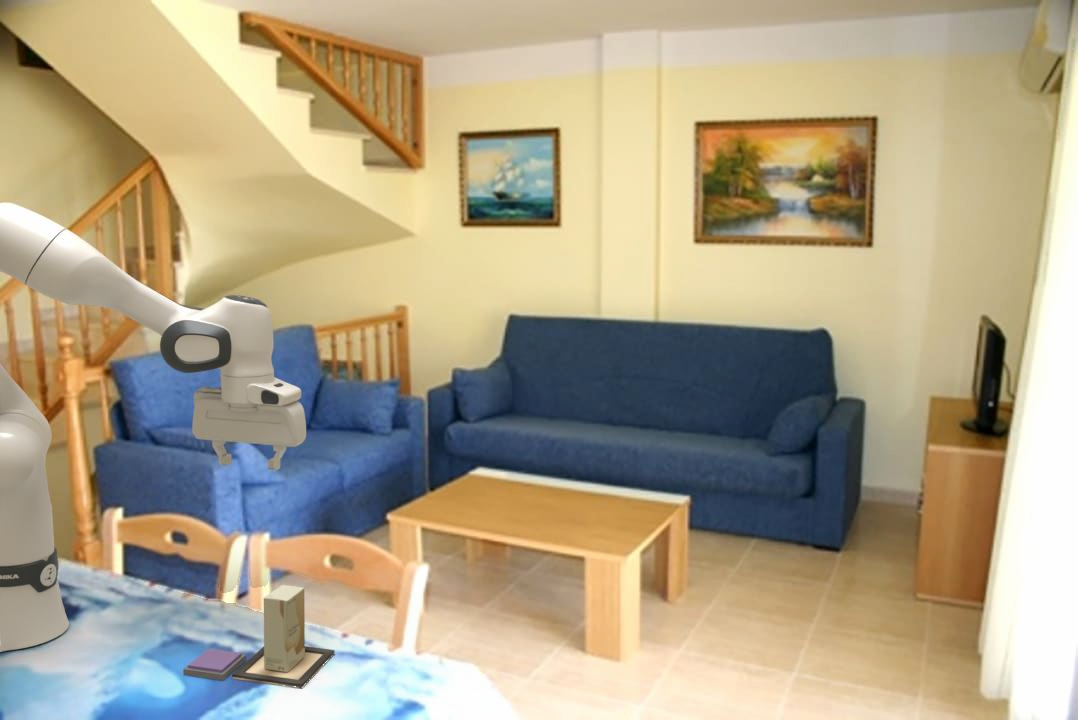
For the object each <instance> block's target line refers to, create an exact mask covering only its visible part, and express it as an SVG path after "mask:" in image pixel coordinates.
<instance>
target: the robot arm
mask: <svg viewBox="0 0 1078 720" xmlns="http://www.w3.org/2000/svg"><path fill="white" fill-rule="evenodd" d="M0 273H4V274H6V275H8V276H9V277H11V278H13V279H15V280H16V281H18V282H20V283H21V284H23V285H25V286H27V287H29V288H30V289H32V290H34V291H35V292H37V293H39V294H41V295H43V296H45V297H48V298H50V299H53V300H55V301H58V302H60V303H64V304H66V305H71V306H91V307H92V306H93V307H101V308H106V309H109V310H113V311H115V312H118V313H120V314H122V315H124V316H125V317H128V318H129V319H131V320H133V321H135V322H137V323H139V324H140V325H142V326H144V327H145V328H148V329H149V330H151V331H153V332H155V333H157V334H158V335H159V336H161V338H160V341H159V350H160V353H161V357H162V358H163V360H164V362H165V363H166V364H167V365H168V366H169V367H170V368H171V369H173V370H175V371H178V372H180V373H183V374H184V373H185V374H198V373H202V372H207V371H211V370H216V369H219V370H220V386H219V387H218V386H217V387H214V386H213V387H211V386H205V385H204V386H201V387H200V388H198V389H197V390H196V391H195V392H194V394H193V406H194V408H193V415H192V435H194V437H195V439H198V440H204V441H205V440H206V441H212V442H211V443H212V445H211V446H212V448H213V450H214V451H215V454H217V456H218V465H219V466H230V465H232V461H233V460H232V454H231V453H228V451H227V449H226V447H225V446H224V445H225V444H227V442H228V443H229V442H230V443H241V444H252V445H253V444H255V445H265V446H273V447H272V449H273V452H275V454H274V456H273V457H272V458H271V457H270V459H268V460H267V465H268V466H267V468H268V470H272V471H278V470H280V469H281V459H282V458H283V456H284V455H285V453H286V451H287V447H290V448H295V447H297V446H299V445H301V444H303V443H304V442H305V440H306V438H307V423H306V413H305V408H304V406H303V405H302V403H301V402H300V401H298V400H300V399H301V398H302V390H301V388H300V387H299V386H296V385H293V384H291V383H289V382H286V381H284V380H282V379H279V378H277V377H275V370H274V366H273V363H272V362H273V361H272V355H273V351H274V327H273V319H272V314H271V310H270V308H269V307H268V305H267V304H266V303H265V302H263V301H262V300H260V299H258V298H254V297H250V296H244V295H235V294H232V295H231V294H229V295H226V296H224V297H223V298H222V299H220V300H219V301H217V302H215V303H214V304H211V305H210V306H208V307H205V308H204V307H203V308H202V307H198V306H197V307H195V306H189V305H184V304H182V303H178V302H177V301H175V300H172V299H171V298H170V297H168V296H166V295H164V294H162V293H161V292H158V291H157V290H155V289H153V288H152V287H149V285H146V284H144V283H143V282H141V281H140V280H137V278H135V277H132V276H131V275H129V274H128V273H127V272H125V271H124V270H123V269H122V268H120V267H119V266H118V265H116V264H115V263H114V262H113V261H112V260H111V259H109V258H107V256H105V255H104V254H103V253H101V252H100V251H99V250H98V249H96V248H95V247H94V246H92V245H91V244H90V243H88V242H87V241H85V240H84V239H83V238H82V237H80V236H79V235H77V234H76V233H74V232H73V231H71V230H69V229H67V228H66V227H65V226H62V225H60V224H59V223H57V222H55V221H54V220H52V219H50V218H48V217H46V216H45V215H42V214H39V213H37V212H35V211H33V210H30V209H28V208H26V207H23V206H20V205H18V204H16V203H13V202H0ZM52 438H53V437H52V429H51V426H50V423H49V422H48V419H47V418H46V416H45V415H44V414H43V413H42V412H41V411H40V410H39V408H38V407H37V406H36V405H35V403H33V401H32V400H31V398H30V397H29V396H28V395H27V394H26V392H25V391H24V390H23V389H22V388H21V386H20V385H18V383H17V382H16V381H15V380H14V379H13V377H11V375H10V374H9V373H8V372H7V370H6V369H5V368H4V366H3V365H2V363H0V653H2V652H7V651H15V650H21V649H26V648H30V647H34V646H38V645H40V644H44V643H47V642H49V641H52V640H53V639H55V638H58V637H59V636H61V635H62V634H64V633H65V632H66V631H67V629H69V627H70V621H69V619H68V616H67V614H66V611H65V606H64V603H63V600H62V599H63V598H62V594H61V589H60V585H59V579H58V574H59V573H58V572H59V555H58V549H57V548H56V547H55V537H54V535H55V533H54V521H53V519H54V518H53V505H52V502H51V497H50V491H49V484H48V476H47V468H46V467H47V464H46V461H47V460H46V459H47V453H48V450H49V449H50V446H51V443H52Z"/></svg>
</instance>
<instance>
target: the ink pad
mask: <svg viewBox="0 0 1078 720" xmlns="http://www.w3.org/2000/svg"><path fill="white" fill-rule="evenodd" d="M246 662H247V655H246V654H243V653H242V652H237V651H229V650H223V649H222V650H221V649H217V648H216V649H214V648H207V649H206V650H205V651H203V652H202V653H201V654H200V655H198V656H197V657H196V658H195V659H194V660H192V661H191V662H190V663H189V664H187V665H186V666H185V667H184V668H183V670H182V671H183V676H190V677H196V678H202V679H209V680H214V681H215V680H216V681H217V680H218V681H223V682H224V681H225V680H226V679H227V678H228V677H229V676H230V675H232V674H233V673H234V672H235V671H237V670H238V669H239V668H240V667H241V666H242V665H243V664H244V663H246Z"/></svg>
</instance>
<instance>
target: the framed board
mask: <svg viewBox="0 0 1078 720" xmlns="http://www.w3.org/2000/svg"><path fill="white" fill-rule="evenodd" d="M333 654H334V655H335V649H329V648H320V647H313V646H306V645H305V657H304V658H303V659H301V660H300V661H299V662H298V663H297V664H296V665H295V666H294V667H293V668H292V669H290V670H289V671H288V672H283V671H276V670H270V669H265V668H264V646H263V647H261V648H260V649H259V650H258V651H257V652H255V653H254V654H253V655H252V656H251V657H250V658H249V659H247V660H246V661H245V662H244V663H243V664H242V665H240V666H239V667H238V668H237V669H236V670H235V671H234V672H232V673H231V678H232V679H234V680H241V681H247V682H253V683H259V684H266V685H267V684H268V685H273V684H274V685H273V686H280V685H285V686H284V687H287V686H296V687H303V686H304V684H305V683H306V682H307V681H308V680H309V679H310V678H311V677H312V676H313V675H314V674H315V673H316V672H317V671H318V670H319V669H320V668H321V667H322V666H323V664H325V662H326V661H327V660H328V659H329V658H330V657H331V656H332V655H333ZM334 655H333V656H334ZM333 656H332V657H333ZM332 657H331V658H332ZM331 658H330V659H331ZM330 659H329V660H330ZM329 660H328V661H329ZM328 661H327V662H328ZM327 662H326V663H327ZM325 665H326V664H325ZM323 667H324V666H323ZM323 667H322V668H323ZM322 668H321V669H322ZM321 669H320V670H321ZM320 670H319V671H320ZM319 671H318V672H319ZM318 672H317V673H318ZM317 673H316V674H317ZM316 674H315V675H316ZM315 675H314V676H315ZM314 676H313V677H314ZM313 677H312V678H313ZM312 678H311V679H312ZM311 679H310V680H311ZM310 680H309V681H310ZM309 681H308V682H309ZM304 687H305V686H304ZM304 687H303V688H304Z"/></svg>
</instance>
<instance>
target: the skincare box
mask: <svg viewBox="0 0 1078 720" xmlns="http://www.w3.org/2000/svg"><path fill="white" fill-rule="evenodd" d="M305 620H306V619H305V587H301V586H295V585H287V584H281V585H280V586H278V587H277V588H275V589H274V590H272V591H271V592H270V593H268V594H267V595H265V596H264V597H263V647H264V668H265V669H270V670H276V671H283V672H288V671H289V670H290V669H292V668H293V667H294V666H295V665H296V664H297V663H298V662H299V661H300V660H301V659H303V658H304V657H305V646H306V645H305V644H306V642H305V641H306V640H305V639H306V635H305V634H306V633H305V632H306V631H305V629H306V628H305V627H306V626H305Z"/></svg>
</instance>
